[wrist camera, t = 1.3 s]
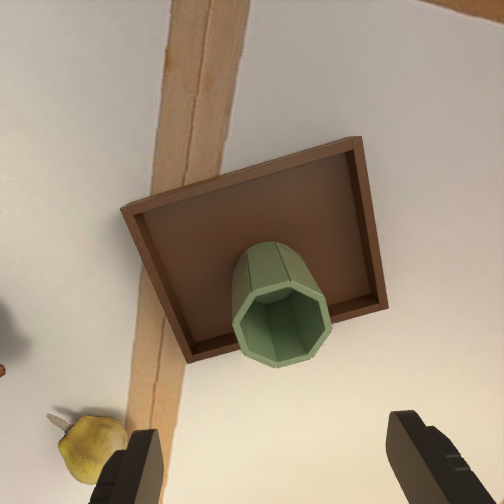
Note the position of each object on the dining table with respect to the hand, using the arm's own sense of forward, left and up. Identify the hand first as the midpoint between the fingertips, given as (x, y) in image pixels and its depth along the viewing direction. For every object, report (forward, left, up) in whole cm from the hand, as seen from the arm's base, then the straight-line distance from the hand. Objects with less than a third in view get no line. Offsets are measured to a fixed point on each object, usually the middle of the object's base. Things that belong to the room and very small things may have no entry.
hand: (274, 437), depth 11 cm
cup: (-1, +3, -19) cm, 19 cm away
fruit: (+22, +15, -20) cm, 33 cm away
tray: (-1, +1, -20) cm, 20 cm away
